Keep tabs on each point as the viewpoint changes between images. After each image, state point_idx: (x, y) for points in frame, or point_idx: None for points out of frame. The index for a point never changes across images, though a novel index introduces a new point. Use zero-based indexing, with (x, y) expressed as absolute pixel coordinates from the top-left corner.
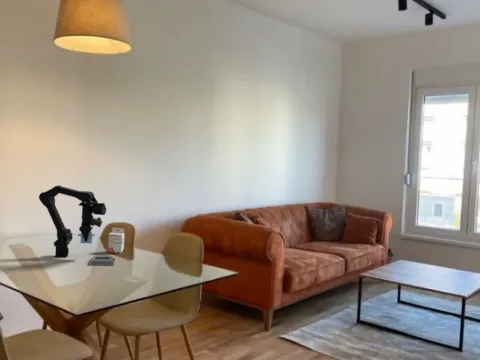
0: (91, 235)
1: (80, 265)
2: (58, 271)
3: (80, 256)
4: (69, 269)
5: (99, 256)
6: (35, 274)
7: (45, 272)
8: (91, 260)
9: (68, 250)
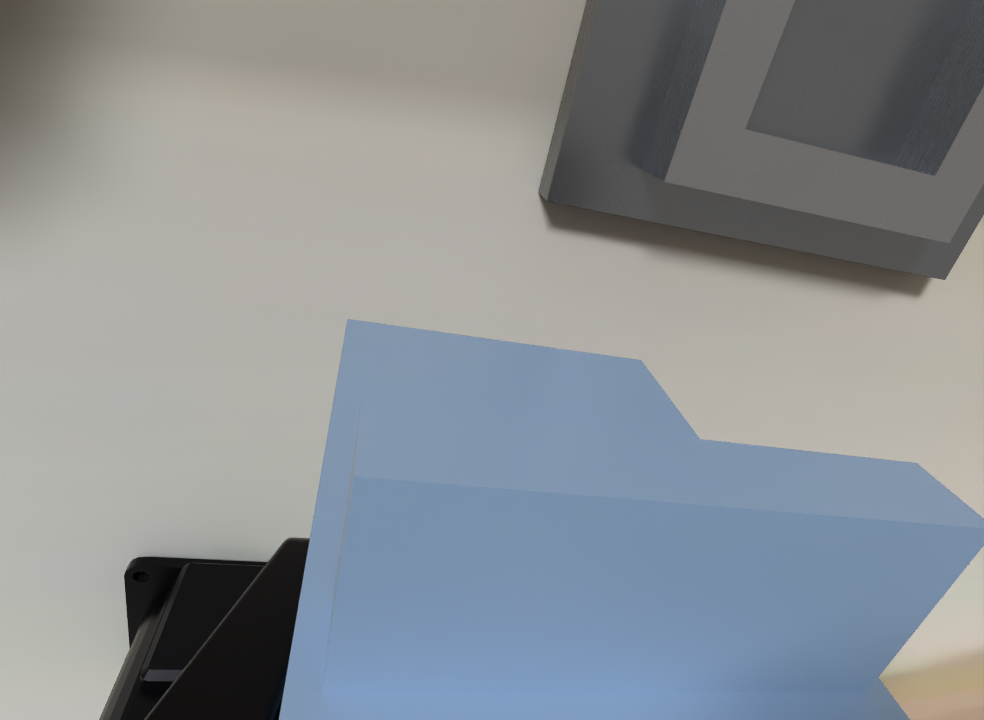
0: (852, 677)
1: (860, 386)
2: (981, 585)
3: (248, 376)
4: (972, 501)
5: (741, 31)
6: (959, 713)
7: (945, 667)
8: (763, 222)
9: (194, 627)
